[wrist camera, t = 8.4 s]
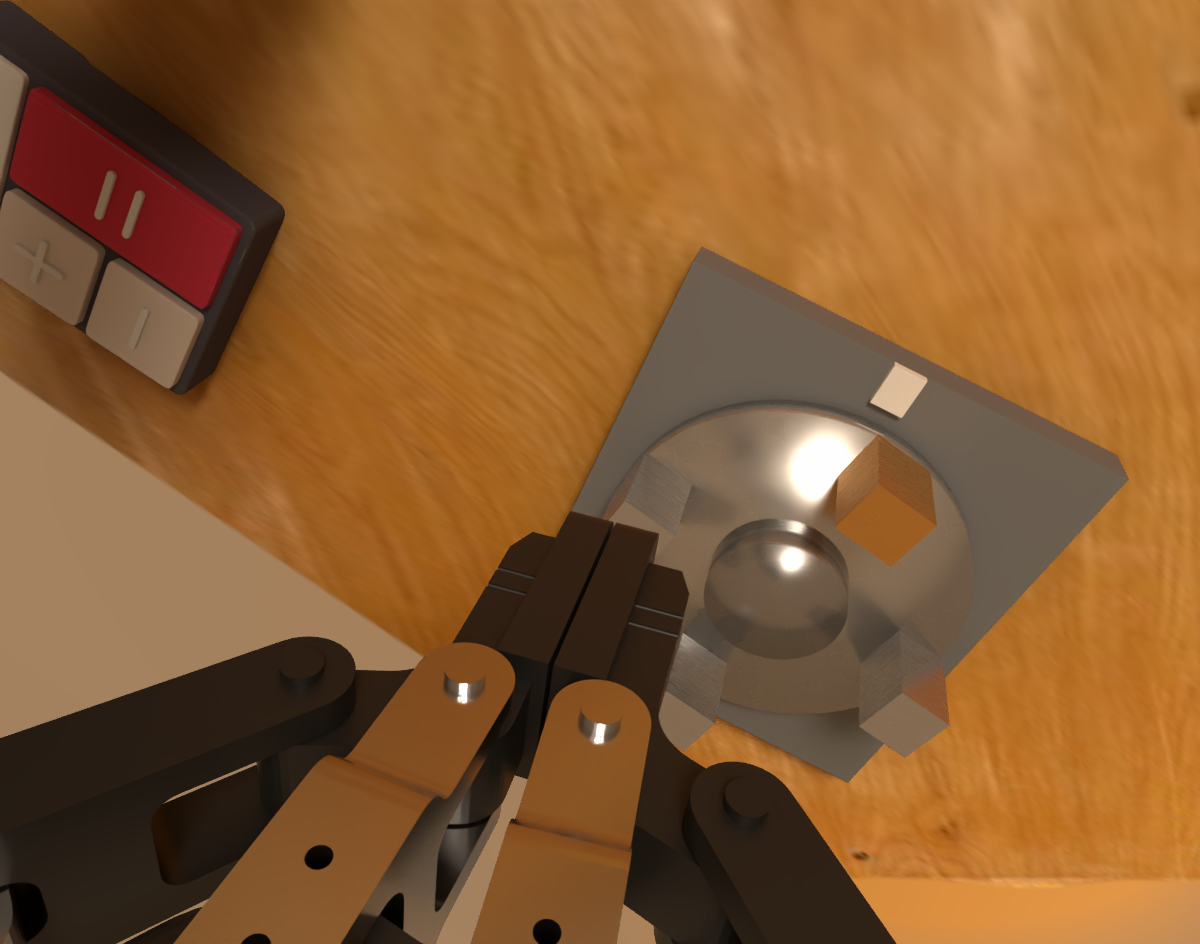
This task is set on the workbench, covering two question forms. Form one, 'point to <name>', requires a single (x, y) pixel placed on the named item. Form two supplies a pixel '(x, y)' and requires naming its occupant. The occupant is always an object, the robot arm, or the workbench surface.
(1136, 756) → the workbench surface
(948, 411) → the base plate
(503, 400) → the workbench surface
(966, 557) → the lugged metal dish
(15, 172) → the calculator
